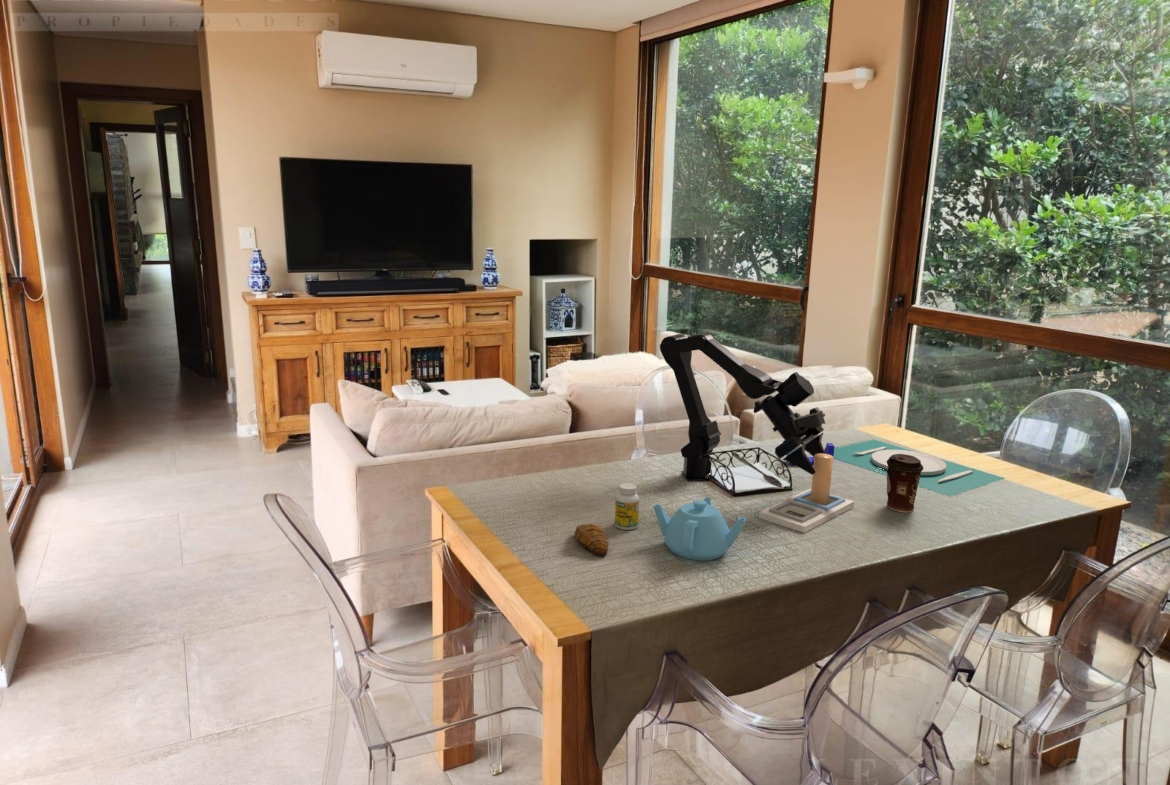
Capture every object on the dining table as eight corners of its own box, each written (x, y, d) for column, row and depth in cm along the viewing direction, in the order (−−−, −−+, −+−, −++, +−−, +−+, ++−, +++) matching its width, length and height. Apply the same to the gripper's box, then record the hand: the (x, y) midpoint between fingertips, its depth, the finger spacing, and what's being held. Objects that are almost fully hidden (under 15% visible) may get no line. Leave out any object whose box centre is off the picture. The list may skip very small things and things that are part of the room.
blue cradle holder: (791, 466, 232) (793, 445, 230) (788, 461, 236) (789, 441, 235) (833, 467, 231) (835, 447, 230) (829, 462, 236) (832, 443, 234)
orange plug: (818, 510, 198) (823, 459, 195) (805, 504, 202) (810, 454, 199) (831, 508, 200) (837, 457, 197) (819, 502, 204) (824, 452, 201)
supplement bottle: (640, 523, 187) (642, 483, 185) (634, 532, 182) (636, 491, 180) (618, 520, 188) (619, 480, 186) (611, 528, 183) (613, 488, 181)
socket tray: (804, 532, 184) (805, 524, 184) (758, 517, 192) (759, 509, 192) (853, 506, 201) (854, 498, 201) (809, 493, 209) (810, 486, 209)
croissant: (563, 535, 179) (564, 514, 178) (592, 531, 182) (592, 510, 181) (588, 561, 167) (589, 538, 166) (618, 556, 170) (619, 534, 169)
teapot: (647, 539, 178) (650, 493, 176) (706, 530, 184) (709, 485, 182) (683, 569, 165) (686, 519, 162) (745, 557, 171) (749, 509, 168)
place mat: (810, 454, 245) (811, 447, 244) (872, 440, 262) (873, 433, 261) (950, 501, 209) (952, 493, 209) (1011, 481, 227) (1013, 473, 226)
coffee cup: (874, 507, 202) (880, 457, 198) (888, 499, 207) (894, 450, 204) (909, 517, 196) (916, 465, 193) (923, 508, 202) (929, 458, 199)
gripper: (792, 405, 190) (833, 460, 187) (819, 392, 205) (858, 442, 202) (757, 431, 197) (797, 485, 193) (786, 416, 212) (824, 466, 208)
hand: (820, 468), depth 199 cm, fingers open, 9 cm apart
